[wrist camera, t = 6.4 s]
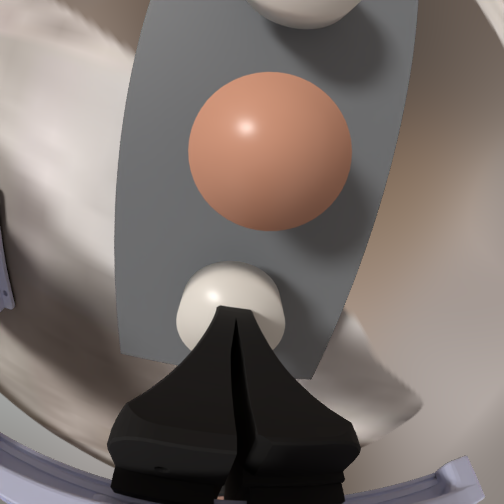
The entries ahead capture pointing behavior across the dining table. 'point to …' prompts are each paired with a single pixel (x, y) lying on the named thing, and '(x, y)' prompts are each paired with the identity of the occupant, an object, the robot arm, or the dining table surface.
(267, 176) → the middle button
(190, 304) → the inner button
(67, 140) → the dining table surface
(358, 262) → the grey flat board
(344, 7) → the outer button
